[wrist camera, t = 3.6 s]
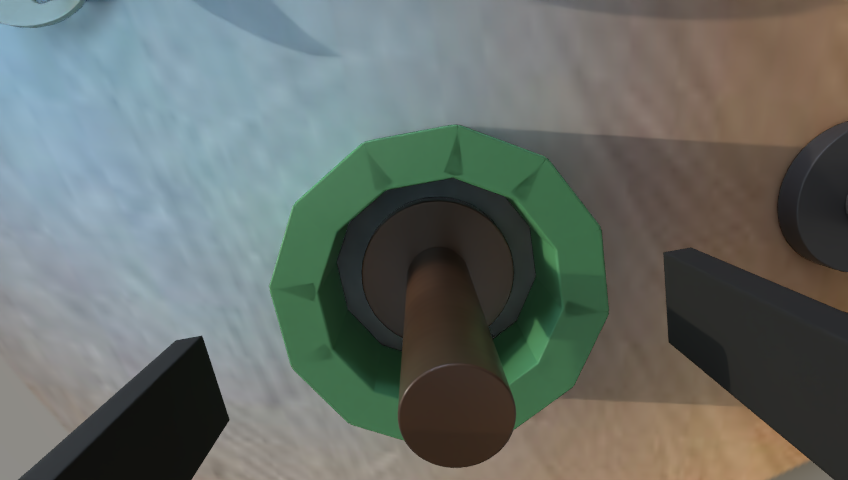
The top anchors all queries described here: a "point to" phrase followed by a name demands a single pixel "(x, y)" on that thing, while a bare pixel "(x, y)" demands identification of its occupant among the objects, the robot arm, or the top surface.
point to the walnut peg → (444, 326)
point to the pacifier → (37, 12)
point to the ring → (516, 346)
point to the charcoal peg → (818, 200)
